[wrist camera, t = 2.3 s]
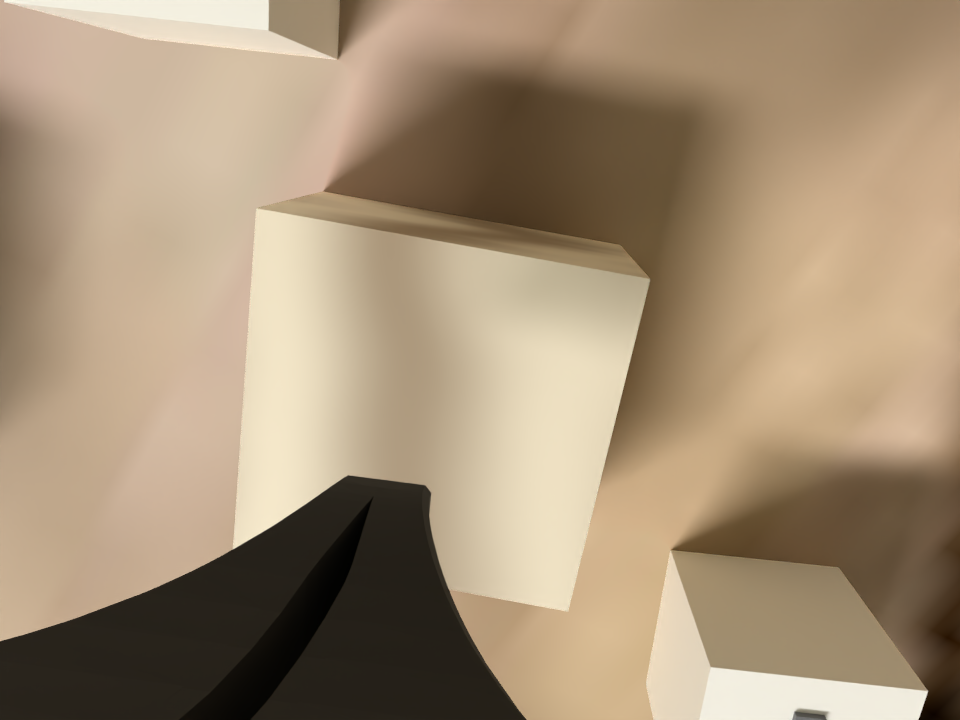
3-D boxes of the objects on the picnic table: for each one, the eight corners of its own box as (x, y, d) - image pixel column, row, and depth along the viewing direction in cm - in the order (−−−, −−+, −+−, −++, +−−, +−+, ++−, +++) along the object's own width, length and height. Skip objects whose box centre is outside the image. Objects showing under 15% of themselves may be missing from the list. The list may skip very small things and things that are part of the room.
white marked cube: (837, 565, 21) (931, 695, 16) (801, 699, 22) (877, 855, 18) (669, 548, 21) (712, 672, 16) (645, 682, 23) (677, 831, 18)
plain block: (619, 243, 19) (650, 279, 14) (558, 505, 21) (567, 611, 16) (324, 190, 19) (256, 208, 14) (299, 457, 21) (232, 549, 16)
